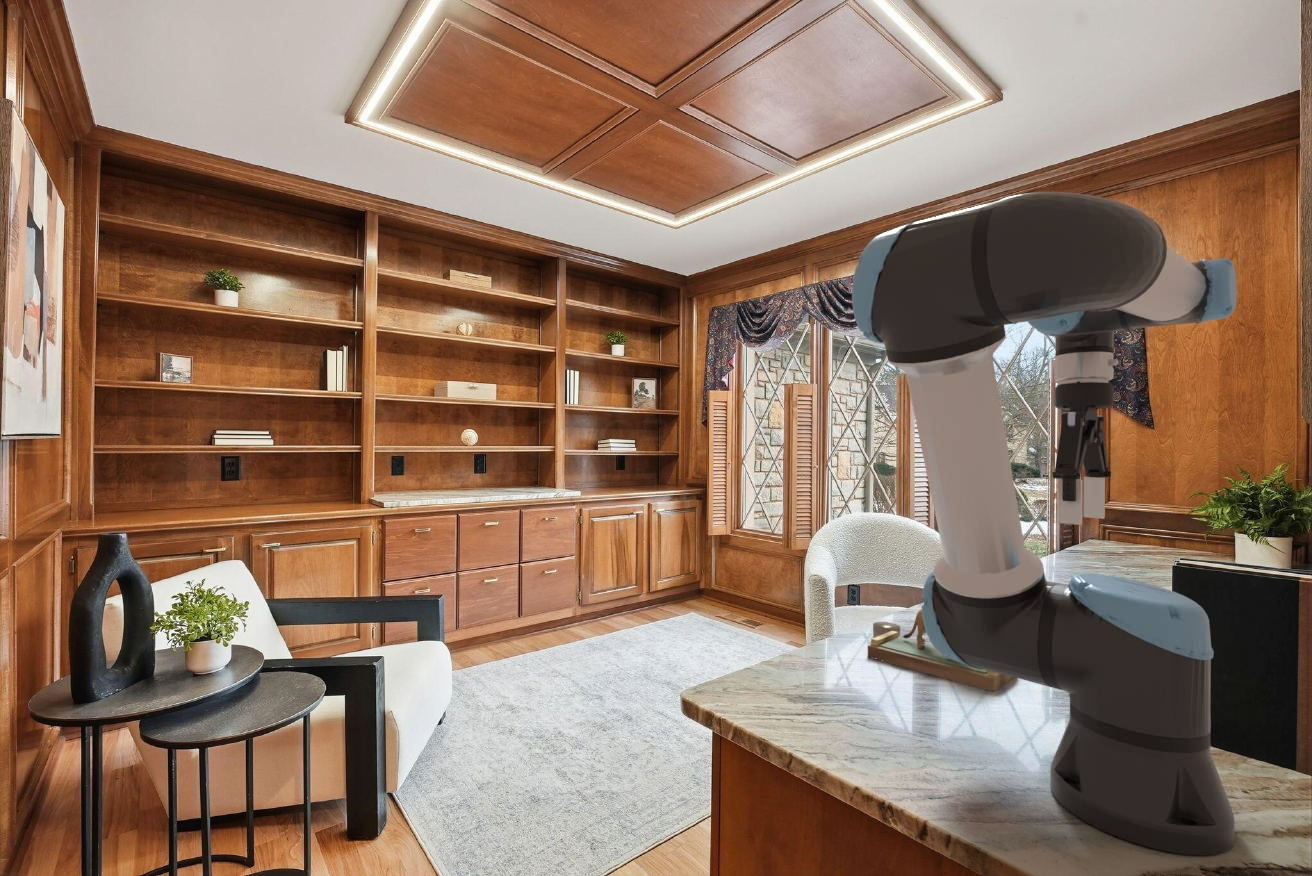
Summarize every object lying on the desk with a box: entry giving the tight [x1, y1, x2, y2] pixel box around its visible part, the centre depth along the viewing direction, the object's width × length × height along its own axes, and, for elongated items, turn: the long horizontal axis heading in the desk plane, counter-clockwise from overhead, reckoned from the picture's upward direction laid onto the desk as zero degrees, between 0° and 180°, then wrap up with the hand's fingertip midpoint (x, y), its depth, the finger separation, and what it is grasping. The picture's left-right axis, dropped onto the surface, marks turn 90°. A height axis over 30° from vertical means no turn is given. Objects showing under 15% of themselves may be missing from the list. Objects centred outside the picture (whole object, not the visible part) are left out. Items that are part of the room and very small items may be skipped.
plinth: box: [867, 631, 1015, 692], centre depth 108 cm, size 10×21×3 cm, turn 43°
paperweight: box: [872, 621, 901, 638], centre depth 122 cm, size 5×5×3 cm
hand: (1082, 520), depth 96 cm, fingers open, 13 cm apart
